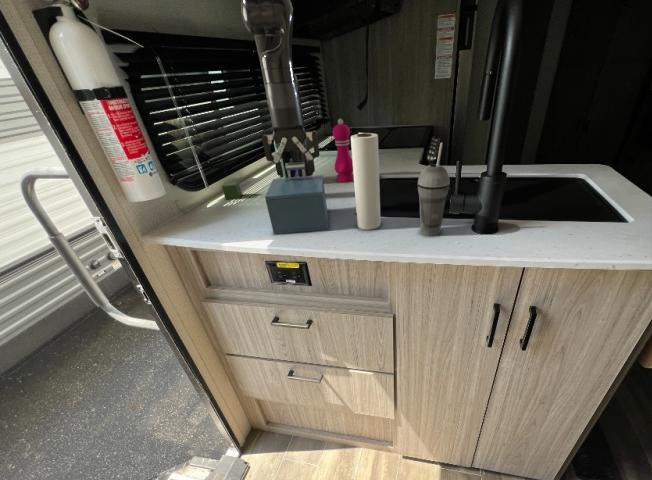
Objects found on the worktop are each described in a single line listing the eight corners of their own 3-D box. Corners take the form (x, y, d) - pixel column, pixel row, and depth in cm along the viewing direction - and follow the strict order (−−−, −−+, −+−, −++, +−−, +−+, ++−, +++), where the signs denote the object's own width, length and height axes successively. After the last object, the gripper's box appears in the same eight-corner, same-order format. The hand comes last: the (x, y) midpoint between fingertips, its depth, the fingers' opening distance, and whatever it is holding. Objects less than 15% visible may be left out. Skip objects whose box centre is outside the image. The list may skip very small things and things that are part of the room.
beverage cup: (423, 224, 82) (428, 138, 70) (450, 229, 78) (459, 140, 66) (409, 234, 77) (412, 144, 65) (437, 241, 74) (445, 146, 62)
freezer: (280, 213, 94) (273, 182, 88) (327, 209, 94) (323, 178, 89) (273, 234, 82) (265, 200, 76) (327, 229, 82) (322, 195, 77)
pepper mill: (338, 177, 122) (332, 117, 110) (356, 177, 121) (352, 117, 109) (334, 182, 116) (327, 120, 104) (353, 182, 115) (348, 119, 103)
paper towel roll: (376, 231, 80) (372, 137, 67) (354, 229, 82) (346, 137, 69) (384, 220, 85) (383, 131, 72) (363, 218, 87) (358, 131, 74)
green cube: (229, 195, 111) (224, 182, 108) (242, 194, 111) (238, 181, 108) (225, 199, 107) (221, 186, 104) (239, 198, 107) (235, 184, 105)
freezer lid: (273, 181, 89) (269, 162, 86) (323, 177, 90) (320, 158, 87) (265, 200, 76) (260, 178, 73) (322, 194, 77) (319, 173, 74)
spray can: (298, 201, 102) (285, 131, 90) (282, 200, 103) (268, 131, 91) (304, 195, 106) (293, 128, 94) (289, 195, 107) (276, 128, 96)
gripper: (314, 102, 80) (323, 170, 90) (257, 106, 79) (272, 174, 89) (313, 104, 74) (323, 177, 84) (251, 108, 73) (268, 181, 83)
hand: (296, 175), depth 86 cm, fingers open, 7 cm apart
